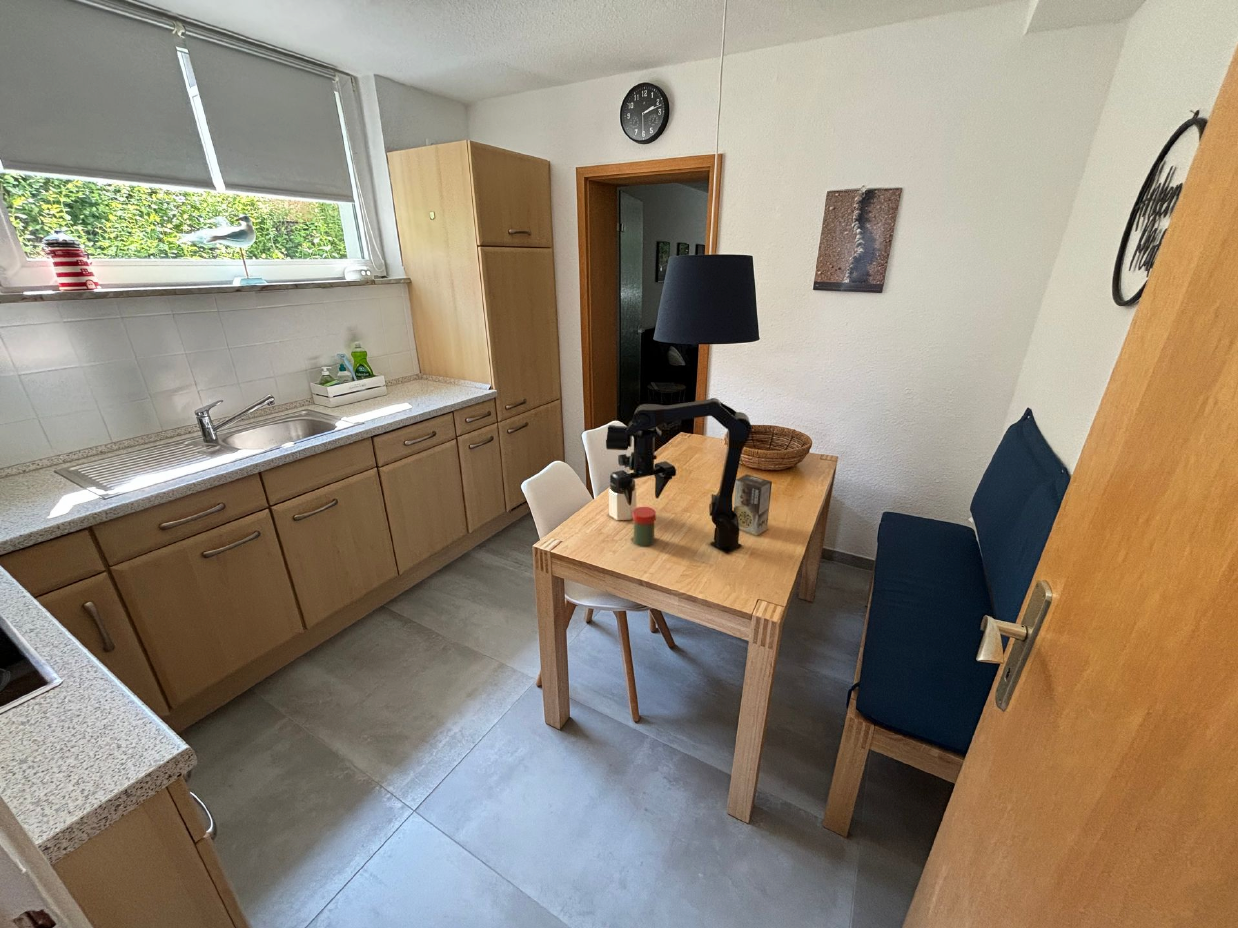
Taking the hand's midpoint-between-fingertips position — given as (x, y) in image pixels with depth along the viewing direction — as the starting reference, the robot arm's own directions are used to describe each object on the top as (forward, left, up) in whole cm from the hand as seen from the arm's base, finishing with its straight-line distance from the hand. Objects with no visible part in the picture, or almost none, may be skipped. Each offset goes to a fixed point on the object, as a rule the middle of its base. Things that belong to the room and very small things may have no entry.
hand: (643, 501), depth 144 cm
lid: (0, 0, -4) cm, 4 cm away
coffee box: (-14, -31, -13) cm, 37 cm away
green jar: (0, 0, -13) cm, 13 cm away
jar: (+17, -5, -13) cm, 22 cm away
